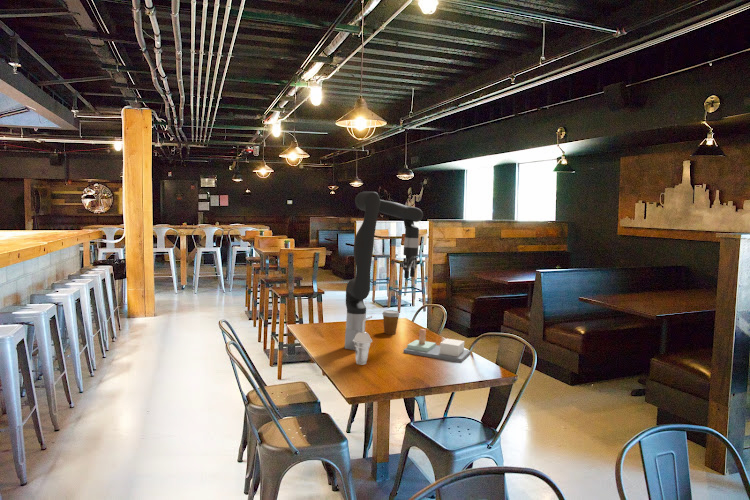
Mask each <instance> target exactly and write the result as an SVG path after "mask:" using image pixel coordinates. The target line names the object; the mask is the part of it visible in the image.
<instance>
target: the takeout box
mask: <svg viewBox="0 0 750 500" xmlns="http://www.w3.org/2000/svg"><path fill="white" fill-rule="evenodd" d="M439 346H440V354H446V355H452V356H459V355H460V354H461V353H462V352H464V350H465V340H460V339H454V338H445V339H444V340H442V341H441V342H440V343H439Z"/></svg>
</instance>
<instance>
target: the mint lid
mask: <svg viewBox="0 0 750 500" xmlns="http://www.w3.org/2000/svg"><path fill="white" fill-rule="evenodd" d="M426 334H427V329H425V328H419V335H418V336H419V338H418V339H415V340H413V341H412V342H410V343H408V344H407V345H406V348H407V349H413V350H419V351H425V352H429V351H430V350H431V349H433V348H434V347H436V345H437V343H436V342H433V341H427V340H426V336H427V335H426Z"/></svg>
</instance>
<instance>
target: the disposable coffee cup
mask: <svg viewBox="0 0 750 500" xmlns="http://www.w3.org/2000/svg"><path fill="white" fill-rule="evenodd" d="M382 318H383V333H384V334H385V335H396V333H397V328H398V322H399V318H400V311H397V310H392V309H386V310H383V312H382Z"/></svg>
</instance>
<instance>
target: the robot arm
mask: <svg viewBox="0 0 750 500" xmlns="http://www.w3.org/2000/svg"><path fill="white" fill-rule="evenodd" d="M354 203H355V206H356V208H357V209H359V210H360V211H363V212H364V216H363V220H362V223H361V226H360V227H359V229H358V230H357V233H356V235H355V237H354V244H353V258H354V262H355V278H352V279H350V280H349V281H348V282H347V284H346V288H345V306H346V318H345V319H346V321H345V322H346V323H345V335H344V349H346V350H352V351H355V345H354V342H353V338H355V336H356V334H357V333H358V332H361V331H362V327H363V320H364V319H366V318H367V307H366V305H365V302H364V300H365V299H366V298H367V297H368V296H369V295H370V292H371V268H372V261H373V253H374V245H375V244H374V243H375V234H376V227H377V222H378V217H379V216H378V215H379V213H381V214H384V215H388V216H391V217H395V218H399V219H403V224H404V229H405V231H404V232H405V233H404V241H403V256H406V257H404V258H403V261H402V270H403V271H404V274H403V275H404V277H403V278H404V279H409V277H410V278H414V277H415V273H416V272H415V271H416V269H417V266H418V264H417V263H418V257H417V256H419V241H420V240H419V237H420V235H419V234H420V228H419V227H418V226H416V225H415V223H417V222H420V221H422V219H423V218H424V213H423V211H422V210H421V209H420V208H418V207H415V206H409V205H405V204H402V203H399V202H396V201H395V202H394V201H391V200H384V199H381V198H380V195H379V193H378V192H376V191H362V192H359V193H357V195H356V196H355V199H354ZM366 321H367V320H365V322H364V332H366Z"/></svg>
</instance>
